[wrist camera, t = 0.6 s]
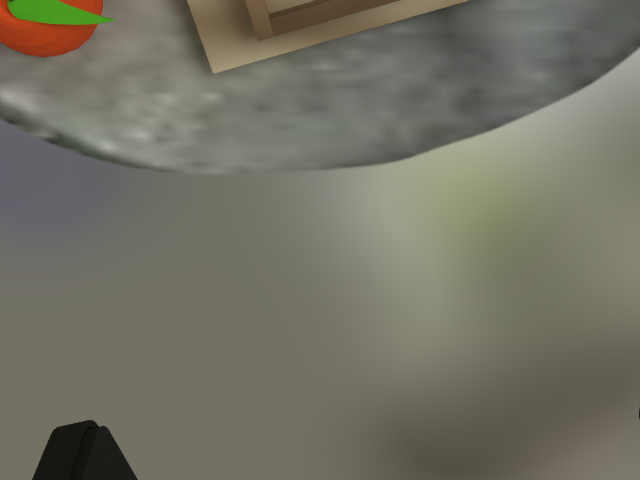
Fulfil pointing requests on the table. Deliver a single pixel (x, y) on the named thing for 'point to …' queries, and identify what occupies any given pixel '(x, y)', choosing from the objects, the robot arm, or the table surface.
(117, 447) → the robot arm
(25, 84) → the table surface
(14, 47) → the clementine
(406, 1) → the board
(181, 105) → the table surface
